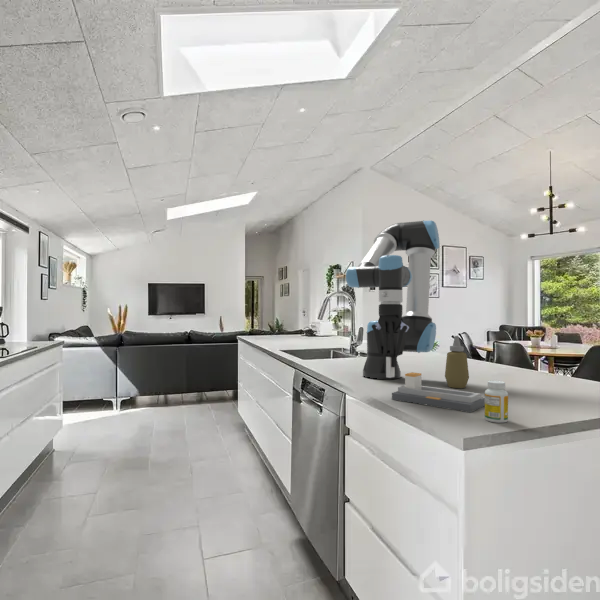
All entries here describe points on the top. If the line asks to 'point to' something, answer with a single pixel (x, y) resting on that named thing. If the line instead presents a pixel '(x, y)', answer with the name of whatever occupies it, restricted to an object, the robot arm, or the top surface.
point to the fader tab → (413, 380)
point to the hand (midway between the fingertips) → (390, 377)
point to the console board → (441, 398)
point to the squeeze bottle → (456, 366)
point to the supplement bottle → (496, 402)
